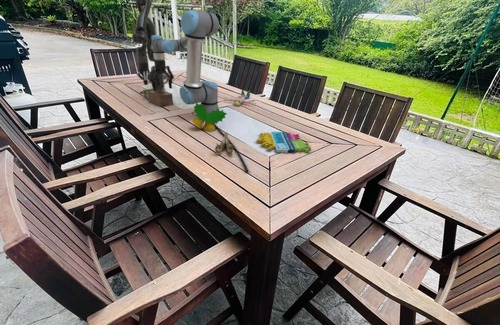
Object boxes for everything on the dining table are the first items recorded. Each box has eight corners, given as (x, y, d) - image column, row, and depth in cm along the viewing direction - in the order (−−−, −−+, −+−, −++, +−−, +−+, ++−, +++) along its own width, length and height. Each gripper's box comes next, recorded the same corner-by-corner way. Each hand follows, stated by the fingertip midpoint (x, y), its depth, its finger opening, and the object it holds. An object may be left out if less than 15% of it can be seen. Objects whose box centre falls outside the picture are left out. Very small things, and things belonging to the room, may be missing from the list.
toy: (261, 91, 228) (254, 99, 202) (261, 99, 231) (253, 108, 205) (231, 87, 233) (220, 95, 207) (230, 95, 236) (219, 104, 210)
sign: (313, 150, 142) (258, 149, 139) (312, 153, 143) (258, 152, 140) (301, 132, 164) (254, 130, 161) (301, 134, 165) (254, 133, 162)
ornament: (218, 133, 171) (224, 110, 169) (221, 134, 163) (227, 111, 161) (186, 125, 162) (192, 101, 160) (189, 126, 155) (195, 101, 153)
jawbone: (234, 135, 144) (233, 125, 135) (233, 160, 138) (232, 151, 129) (217, 135, 144) (216, 125, 135) (216, 160, 138) (214, 150, 129)
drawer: (140, 96, 212) (138, 88, 209) (150, 94, 218) (149, 87, 215) (154, 102, 201) (153, 94, 198) (164, 100, 207) (163, 92, 204)
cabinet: (149, 102, 204) (148, 91, 200) (161, 99, 211) (160, 89, 207) (161, 106, 196) (160, 95, 192) (173, 104, 203) (172, 93, 199)
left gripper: (148, 60, 207) (150, 82, 215) (132, 61, 198) (135, 84, 206) (153, 61, 203) (155, 84, 211) (137, 63, 194) (140, 86, 202)
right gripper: (171, 57, 196) (173, 86, 206) (140, 59, 179) (144, 91, 189) (177, 58, 192) (179, 88, 202) (146, 61, 175) (150, 93, 185)
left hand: (145, 84), depth 209 cm, fingers closed
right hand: (162, 89), depth 196 cm, fingers open, 13 cm apart
